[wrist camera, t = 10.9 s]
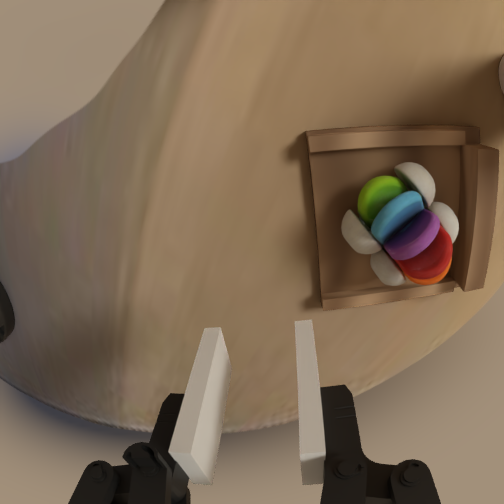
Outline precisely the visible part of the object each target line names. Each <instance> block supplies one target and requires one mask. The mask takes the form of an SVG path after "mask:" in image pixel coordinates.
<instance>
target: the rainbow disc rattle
mask: <svg viewBox="0 0 504 504" xmlns="http://www.w3.org/2000/svg"><path fill="white" fill-rule="evenodd" d="M394 170H395V173H396V175H397V176H398V178H397V177H393V176H379V177H375V178H373V179H371V180H370V181H368V182H367V183H366V184H365V185H364V187H363V188H362V190H361V192H360V194H359V197H358V214H359V218H358V217H357V216H356V215H355V213H354V212H353V211H352V210H350V209H349V210H348V211H347V212H346V214H345V215H344V217H343V220H342V226H341V229H342V235H343V236H344V238H345V239H346V241H347V242H348V243H349V245H350V246H351V247H352V248H353V249H354V250H355V251H356V252H358V253H361V254H371V259H370V264H371V267H372V269H373V271H374V272H375V274H376V275H377V276H378V278H379V279H380V280H381V281H382V283H384V284H386V285H390V286H397V285H401V284H403V283H405V282H406V278H405V276H406V277H407V278H408V279H409V280H410V281H412V282H414V283H416V284H420V285H431V284H434V283H437V282H439V281H440V280H442V279H443V278H444V276H445V275H446V274H447V272H448V270H449V268H450V265H451V261H452V252H453V246H452V244H453V243H454V241H455V239H456V237H457V235H458V231H459V223H458V219H457V217H456V215H455V214H454V212H453V211H452V210H451V208H450V207H449V206H447V205H446V204H444V203H441V202H433V199H434V197H435V183H434V180H433V178H432V176H431V175H430V174H429V172H428V171H427V170H426V169H425V168H424V167H423V166H421V165H419V164H417V163H413V162H405V163H401V164H399V165H397V166H396V167H395V168H394ZM383 246H384V248H385V249H386V250H385V249H384V248H383Z"/></svg>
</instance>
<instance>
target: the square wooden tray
mask: <svg viewBox="0 0 504 504" xmlns="http://www.w3.org/2000/svg"><path fill="white" fill-rule="evenodd" d="M305 132H306V139H307V147H308V155H309V164H310V172H311V181H312V191H313V201H314V211H315V222H316V234H317V246H318V260H319V275H320V292H321V305H322V308H323V311H326V310H334V309H342V308H350V307H358V306H365V305H373V304H380V303H387V302H393V301H400V300H406V299H412V298H419V297H425V296H430V295H436V294H442V293H447V292H453V291H454V288H456V287H461V289H462V290H463V291H464V292H466V291H471V290H476V289H481V288H483V287H484V282H485V278H486V273H487V268H488V262H489V257H490V251H491V245H492V238H493V231H494V223H495V214H496V204H497V191H498V172H499V150H498V149H495V148H492V147H488V146H485V145H482V144H480V128H479V127H472V126H446V125H393V126H367V127H349V128H335V129H323V130H312V131H305ZM405 162H413V163H417V164H419V165H421V166H423V167H424V168H425V169H426V170H427V171H428V172H429V174H430V175H431V176H432V178H433V180H434V183H435V197H434V199H433V202H441V203H444V204H446V205H447V206H449V207H450V208H451V210H452V211H453V212H454V214H455V215H456V217H457V219H458V223H459V231H458V235H457V237H456V239H455V241H454V243H453V244H452V246H453V252H452V261H451V265H450V268H449V270H448V272H447V274H446V275H445V276H444V278H443V279H442V280H440V281H439V282H437V283H434V284H431V285H420V284H416V283H414V282H412V281H410V280H409V279H408V278H407V277H406V276H405V278H406V282H405V283H403V284H401V285H397V286H390V285H386V284H384V283H382V281H381V280H380V279H379V278H378V276H377V275H376V274H375V272H374V271H373V269H372V267H371V264H370V259H371V254H361V253H358V252H356V251H355V250H354V249H353V248H352V247H351V246H350V245H349V243H348V242H347V241H346V239H345V238H344V236H343V235H342V229H341V226H342V220H343V217H344V215H345V214H346V212H347V211H348V210H349V209H350V210H352V211H353V212H354V213H355V215H356V216H357V217H358V218H359V214H358V197H359V194H360V192H361V190H362V188H363V187H364V185H365V184H366V183H367V182H368V181H370V180H371V179H373V178H375V177H379V176H393V177H397V178H398V176H397V175H396V173H395V170H394V168H395V167H396V166H397V165H399V164H401V163H405ZM383 248H384V246H383ZM384 249H385V248H384ZM385 250H386V249H385Z"/></svg>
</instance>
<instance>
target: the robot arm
mask: <svg viewBox="0 0 504 504" xmlns="http://www.w3.org/2000/svg"><path fill="white" fill-rule="evenodd" d="M14 325H15V319H14V313H13V309H12V306H11V303H10V300H9V298H8V296H7V293H6V291H5V289H4V288H3V286H2V284H1V282H0V343H1V342H3V341H4V340H5V339H6V338H7V337H8V336H9V335H10V334H11V332H12V331H13V329H14ZM295 336H296V356H297V378H298V404H299V439H300V461H301V471H302V482H303V485H311V484H322V483H323V490H322V496H321V502H320V504H441V502H440V499H439V496H438V493H437V490H436V487H435V484H434V481H433V478H432V475H431V472H430V470H429V468H428V467H427V465H426V464H425V463H423V462H422V461H419V460H415V459H414V460H413V459H412V460H405V461H403V462H401V463H399V464H398V465H387V464H379V463H375V462H373V461H371V460H369V459H368V458H367V457H366V456H365V455H364V453H363V451H362V448H361V442H360V436H359V430H358V424H357V418H356V413H355V407H354V402H353V396H352V393H351V392H350V391H349V389H348V388H347V387H346V386H345V385H338V386H330V387H321V388H320V384H319V375H318V366H317V357H316V349H315V341H314V333H313V325H312V320H303V321H295ZM231 372H232V366H231V363H230V359H229V356H228V352H227V349H226V345H225V342H224V338H223V334H222V331H221V327H217V328H204V332H203V335H202V338H201V341H200V345H199V348H198V351H197V355H196V358H195V361H194V365H193V368H192V371H191V375H190V378H189V382H188V385H187V388H186V392H185V394H174V393H170V395H169V396H168V397H167V398H166V399H165V400H164V402H163V403H162V406H161V409H160V412H159V413H160V414H159V415H158V418H157V423H156V424H155V427H154V430H153V433H152V436H151V439H150V442H149V443H144V442H140V443H135V444H133V445H131V446H129V447H128V448H127V449H126V451H125V452H124V455H123V458H124V459H125V461H127V463H128V464H129V465H121V466H111V465H110V464H109V463H107V462H105V461H99V460H98V461H94V462H92V463H91V464H89V465H88V466H87V467H86V469H85V470H84V472H83V474H82V476H81V478H80V480H79V482H78V485H77V487H76V489H75V491H74V493H73V495H72V497H71V499H70V501H69V503H68V504H190V491H189V489H188V487H187V485H188V480H189V479H190V480H191V481H192V483H194V484H204V485H212V484H213V479H214V473H215V467H216V461H217V455H218V449H219V443H220V437H221V431H222V425H223V419H224V414H225V408H226V402H227V396H228V390H229V384H230V378H231Z"/></svg>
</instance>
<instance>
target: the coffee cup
mask: <svg viewBox="0 0 504 504" xmlns="http://www.w3.org/2000/svg"><path fill="white" fill-rule="evenodd" d="M499 81H500V86H501V89H502V92H503V94H504V56H503V57H502V59H501V61H500V64H499Z"/></svg>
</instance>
